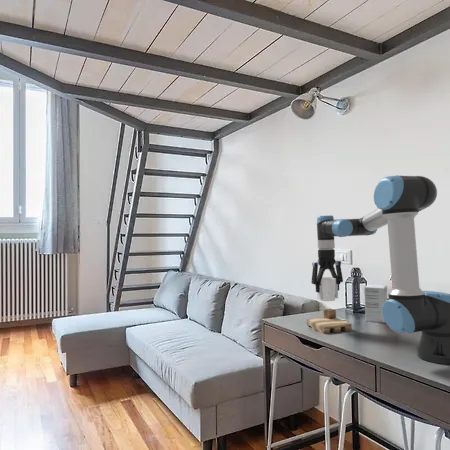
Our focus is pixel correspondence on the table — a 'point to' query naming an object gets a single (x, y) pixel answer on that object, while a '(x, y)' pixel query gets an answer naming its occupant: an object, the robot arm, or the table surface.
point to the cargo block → (329, 313)
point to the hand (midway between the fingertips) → (327, 298)
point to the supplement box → (375, 302)
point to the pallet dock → (329, 325)
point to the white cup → (328, 288)
